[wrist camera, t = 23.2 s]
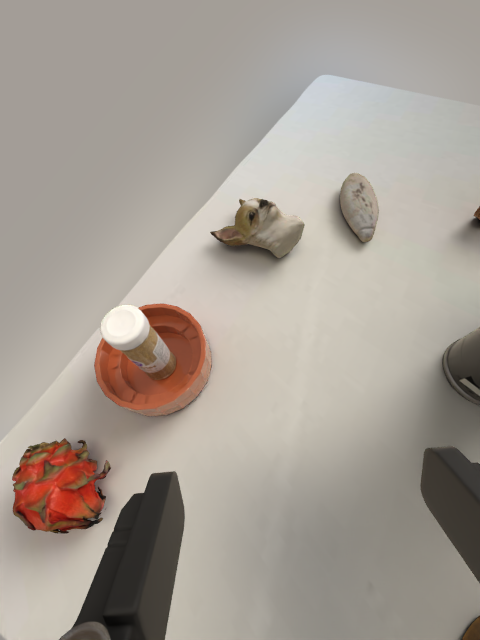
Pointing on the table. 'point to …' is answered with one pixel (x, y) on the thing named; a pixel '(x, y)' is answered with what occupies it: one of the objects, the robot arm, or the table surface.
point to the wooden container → (473, 631)
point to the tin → (477, 213)
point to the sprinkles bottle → (138, 341)
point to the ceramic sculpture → (262, 227)
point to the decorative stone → (359, 206)
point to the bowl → (167, 394)
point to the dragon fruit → (58, 488)
